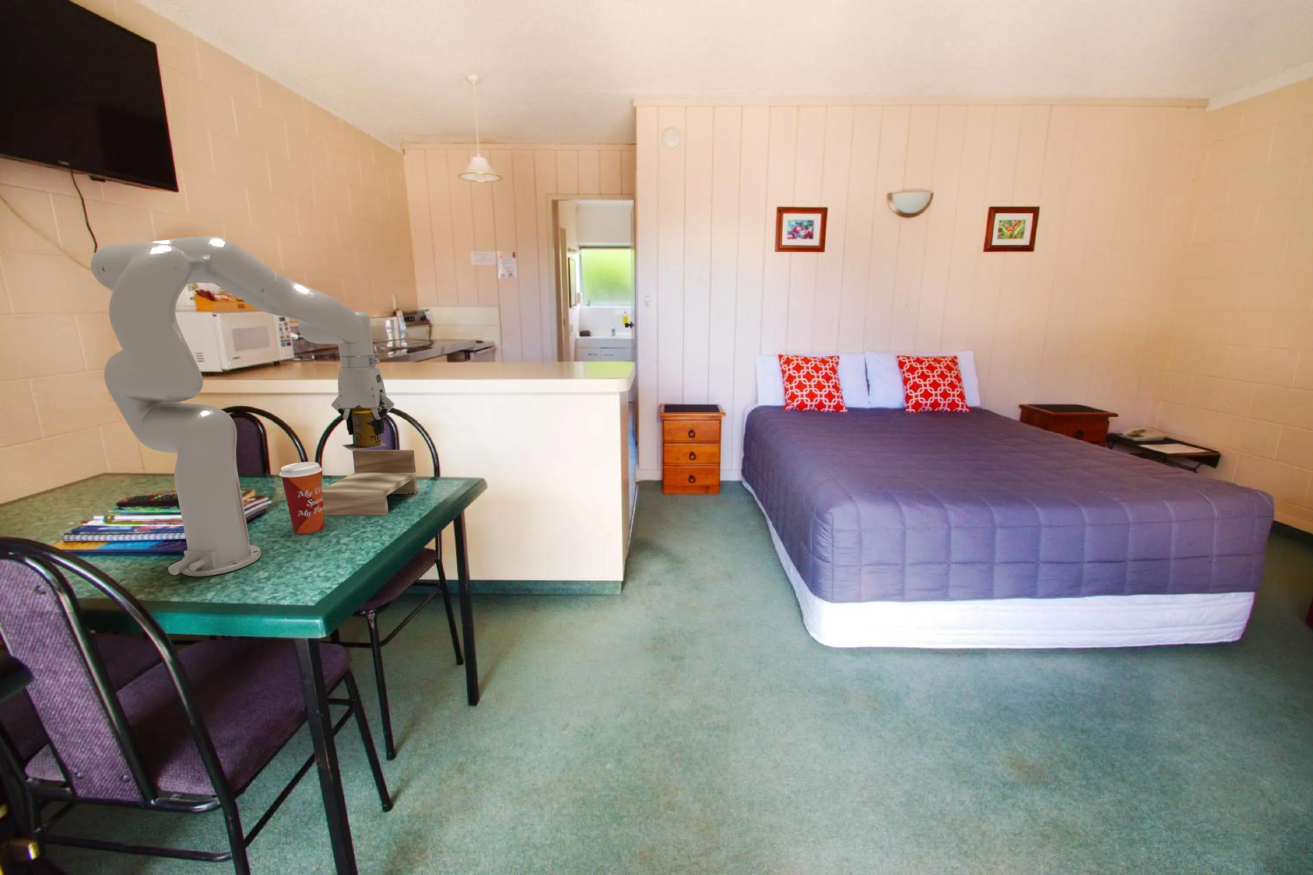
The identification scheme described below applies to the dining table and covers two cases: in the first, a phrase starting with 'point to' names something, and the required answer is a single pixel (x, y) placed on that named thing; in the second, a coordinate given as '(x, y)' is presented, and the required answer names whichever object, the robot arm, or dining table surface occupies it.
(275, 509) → the dining table surface
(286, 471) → the coffee cup
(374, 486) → the shelf
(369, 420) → the condiment
